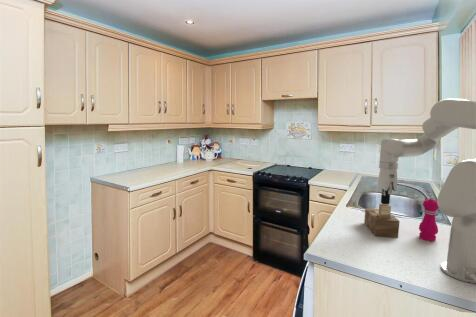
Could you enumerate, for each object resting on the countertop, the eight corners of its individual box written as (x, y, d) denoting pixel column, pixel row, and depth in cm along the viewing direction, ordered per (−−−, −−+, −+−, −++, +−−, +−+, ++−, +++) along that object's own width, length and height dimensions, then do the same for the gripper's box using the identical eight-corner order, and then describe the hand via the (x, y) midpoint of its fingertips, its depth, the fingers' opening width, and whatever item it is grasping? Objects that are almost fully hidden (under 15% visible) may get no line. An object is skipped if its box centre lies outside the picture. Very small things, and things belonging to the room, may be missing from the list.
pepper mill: (440, 242, 121) (445, 198, 118) (422, 241, 123) (426, 198, 120) (432, 235, 128) (436, 194, 125) (415, 234, 130) (419, 193, 127)
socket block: (398, 237, 126) (399, 220, 125) (375, 236, 128) (376, 219, 126) (384, 224, 142) (385, 208, 141) (364, 223, 143) (365, 208, 142)
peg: (389, 222, 128) (391, 206, 127) (381, 222, 129) (382, 205, 128) (386, 219, 132) (387, 203, 131) (378, 219, 132) (379, 203, 131)
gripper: (404, 168, 118) (400, 209, 121) (390, 162, 133) (387, 199, 136) (386, 168, 119) (382, 208, 122) (374, 162, 134) (371, 198, 137)
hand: (385, 203), depth 129 cm, fingers closed
